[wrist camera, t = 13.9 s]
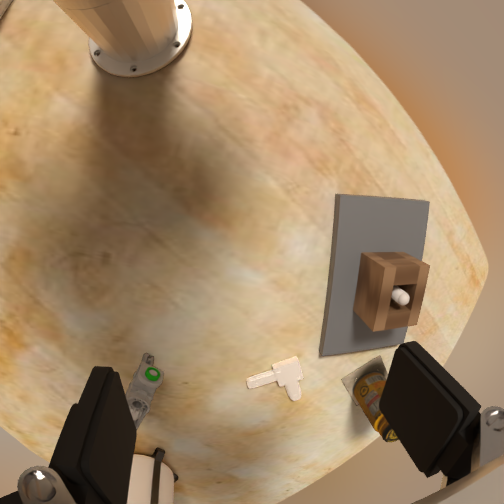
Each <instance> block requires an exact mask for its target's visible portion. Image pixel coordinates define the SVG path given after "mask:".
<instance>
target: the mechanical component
mask: <svg viewBox="0 0 504 504" xmlns="http://www.w3.org/2000/svg"><path fill="white" fill-rule="evenodd" d="M149 356H150V355H149V354H148V353H145V354H144V355H143V358H142V362H141V364H140V366H139V368H138V370H137V371H136V372H135V373H134V375H133V380H132V382H131V383H130V384H129V388H128V390H127V392H126V394H125V396H126V399H127V402H128V405H129V409H130V412H131V415H132V417H133V420H134V423H135V426H136V430H137V429H138V427H139V425H140V423H141V422H142V420H143V418H144V417H145V415H146V414H147V413H148V412H149V410H150V405H151V401H152V399H153V395H154V393H155V391H156V389H157V387H159V386H160V385H161V383H162V381H163V374H164V371H162V370H160V369H158V368H156V367H153V361H154V356H152V357H151V358H149Z"/></svg>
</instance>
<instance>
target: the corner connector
mask: <svg viewBox="0 0 504 504" xmlns="http://www.w3.org/2000/svg"><path fill="white" fill-rule="evenodd" d="M272 367H273V369H272V370H269V371H266V372H263V373H260V374H257V375H254V376H251V377H249V378H248V379H246V382H247V386H248V388H249V389H252V388H256V387H259V386H262V385H265V384H268V383H271V382H275V381H278V384H279V387H281V386H284V385H285V387H286V390H287V393H288V396H289V397H290V399H292V400H293V401H296V400H299V399H301V389H300V385H299V382H298V381H299V380H301V379H304V378H303V374H302V371H301V367H300V363H299V360H298V358H297V356H295V357H292V358H289V359H286V360H283V361H281V362H278V363H275V364H272Z"/></svg>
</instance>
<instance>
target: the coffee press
mask: <svg viewBox="0 0 504 504" xmlns="http://www.w3.org/2000/svg"><path fill="white" fill-rule="evenodd" d="M164 454H165V451H164V450H162V449H160V448H156V450H155V452H154V454H153V455H152V456H151V457H149V456H145V455H139V454H134V455H133V461H132V468H131V476H130V483H129V491H128V500H127V504H174V482H176V481H177V480H178V476H177V475H176V474H173V473H172V471H171V469H170V468H169V467H168V466H167V465H165V464H164V463H162V459H163V456H164Z"/></svg>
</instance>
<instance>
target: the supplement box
mask: <svg viewBox="0 0 504 504" xmlns="http://www.w3.org/2000/svg"><path fill="white" fill-rule="evenodd" d="M11 2H12V0H0V19H1V17H2V16H3V14H4V12H5V11H6V9H7V8H8V6H9V5H10V3H11Z"/></svg>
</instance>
